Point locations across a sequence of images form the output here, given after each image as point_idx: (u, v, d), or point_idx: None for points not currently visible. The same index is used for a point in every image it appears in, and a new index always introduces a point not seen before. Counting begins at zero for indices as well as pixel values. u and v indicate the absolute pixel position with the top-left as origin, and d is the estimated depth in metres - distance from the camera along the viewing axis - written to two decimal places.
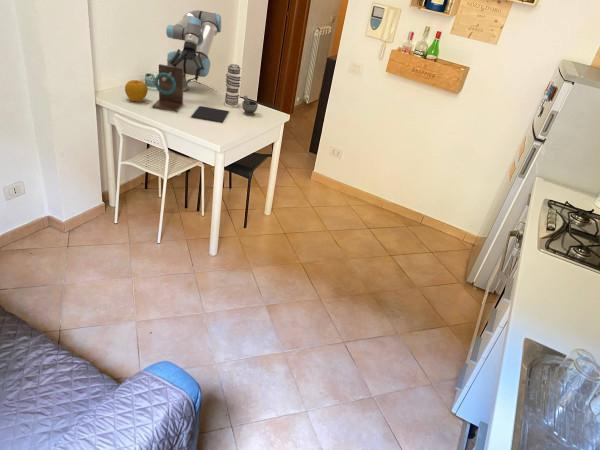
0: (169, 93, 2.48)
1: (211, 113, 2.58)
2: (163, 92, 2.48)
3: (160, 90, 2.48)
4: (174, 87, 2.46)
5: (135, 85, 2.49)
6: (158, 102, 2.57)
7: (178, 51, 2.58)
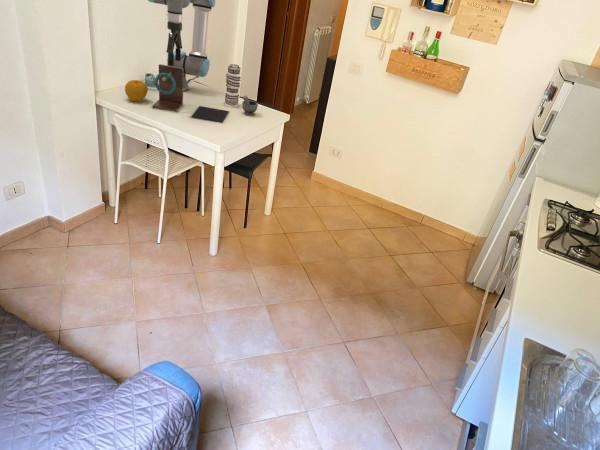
0: (169, 93, 2.48)
1: (211, 113, 2.58)
2: (163, 92, 2.48)
3: (160, 90, 2.48)
4: (174, 87, 2.46)
5: (135, 85, 2.49)
6: (158, 102, 2.57)
7: None
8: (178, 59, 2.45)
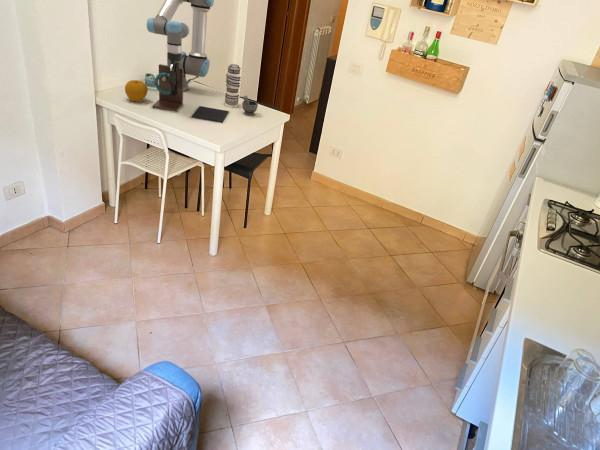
0: (169, 93, 2.48)
1: (211, 113, 2.58)
2: (163, 92, 2.48)
3: (160, 90, 2.48)
4: None
5: (135, 85, 2.49)
6: (158, 102, 2.57)
7: None
8: None
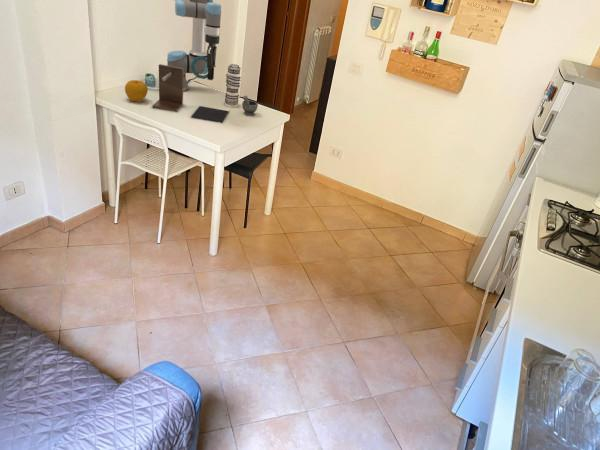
0: (205, 77, 2.43)
1: (211, 113, 2.58)
2: (199, 76, 2.43)
3: (196, 74, 2.43)
4: None
5: (135, 85, 2.49)
6: (158, 102, 2.57)
7: None
8: None
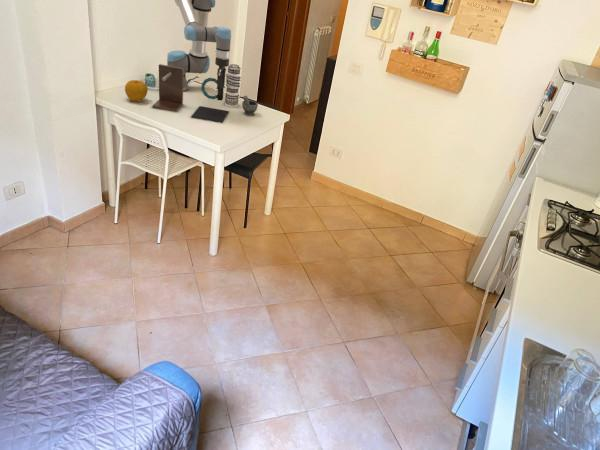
0: (215, 98, 2.52)
1: (211, 113, 2.58)
2: (209, 97, 2.51)
3: (206, 95, 2.51)
4: None
5: (135, 85, 2.49)
6: (158, 102, 2.57)
7: None
8: None
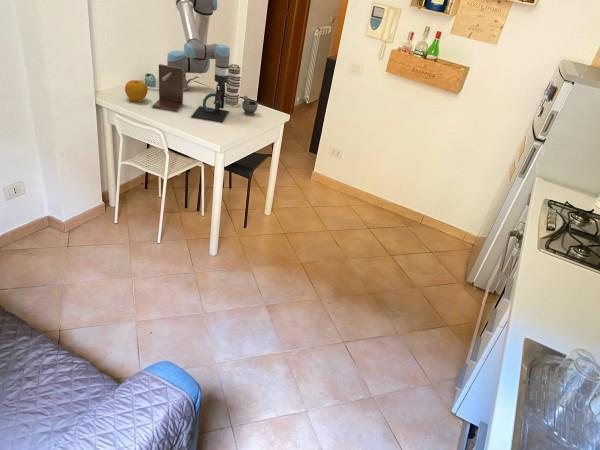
0: (214, 110, 2.56)
1: (211, 113, 2.58)
2: (209, 110, 2.57)
3: (206, 109, 2.57)
4: None
5: (135, 85, 2.49)
6: (158, 102, 2.57)
7: None
8: (221, 107, 2.61)
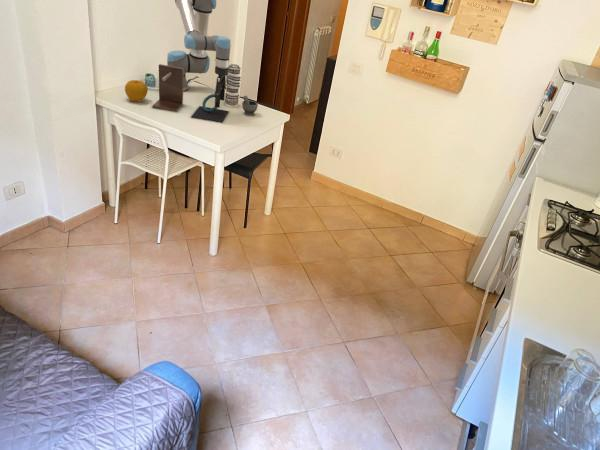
0: (213, 108, 2.56)
1: (211, 113, 2.58)
2: (208, 109, 2.57)
3: (206, 109, 2.58)
4: None
5: (135, 85, 2.49)
6: (158, 102, 2.57)
7: None
8: (222, 99, 2.59)
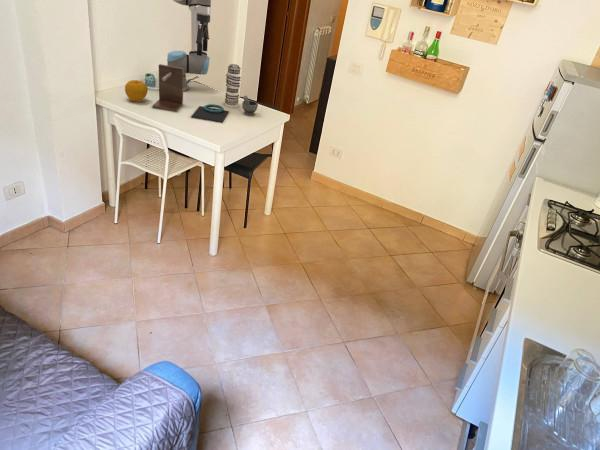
0: (216, 110, 2.59)
1: (211, 113, 2.58)
2: (210, 109, 2.58)
3: None
4: (222, 109, 2.62)
5: (135, 85, 2.49)
6: (158, 102, 2.57)
7: None
8: (205, 49, 2.60)
